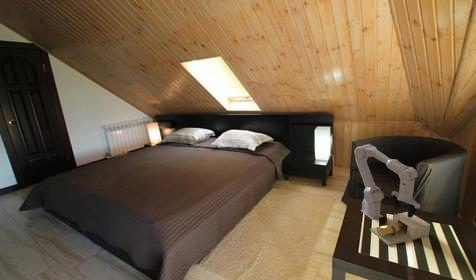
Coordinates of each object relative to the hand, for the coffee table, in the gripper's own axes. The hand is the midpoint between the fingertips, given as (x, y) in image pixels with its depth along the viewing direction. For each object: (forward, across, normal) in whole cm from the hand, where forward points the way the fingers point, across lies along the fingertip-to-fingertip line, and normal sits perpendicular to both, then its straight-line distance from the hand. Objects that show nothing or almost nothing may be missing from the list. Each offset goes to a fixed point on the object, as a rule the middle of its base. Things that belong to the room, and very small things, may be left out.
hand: (403, 212), depth 116 cm
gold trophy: (+9, +2, -9) cm, 13 cm away
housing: (+10, +2, -4) cm, 11 cm away
